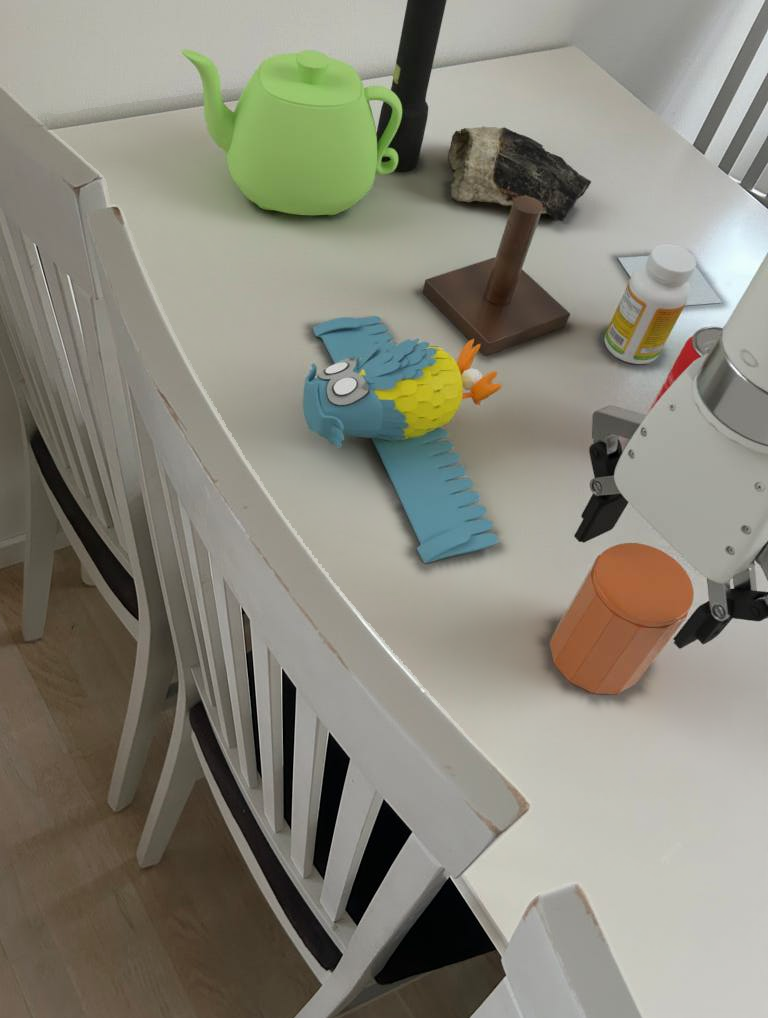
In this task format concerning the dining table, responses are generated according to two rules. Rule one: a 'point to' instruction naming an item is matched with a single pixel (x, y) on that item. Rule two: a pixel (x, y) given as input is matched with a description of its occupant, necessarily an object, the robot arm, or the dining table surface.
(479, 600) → the dining table surface
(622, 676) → the cup
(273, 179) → the teapot
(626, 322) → the supplement bottle
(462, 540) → the owl figurine
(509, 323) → the cup stand
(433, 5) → the flashlight
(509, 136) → the mineral specimen
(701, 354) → the beverage can
